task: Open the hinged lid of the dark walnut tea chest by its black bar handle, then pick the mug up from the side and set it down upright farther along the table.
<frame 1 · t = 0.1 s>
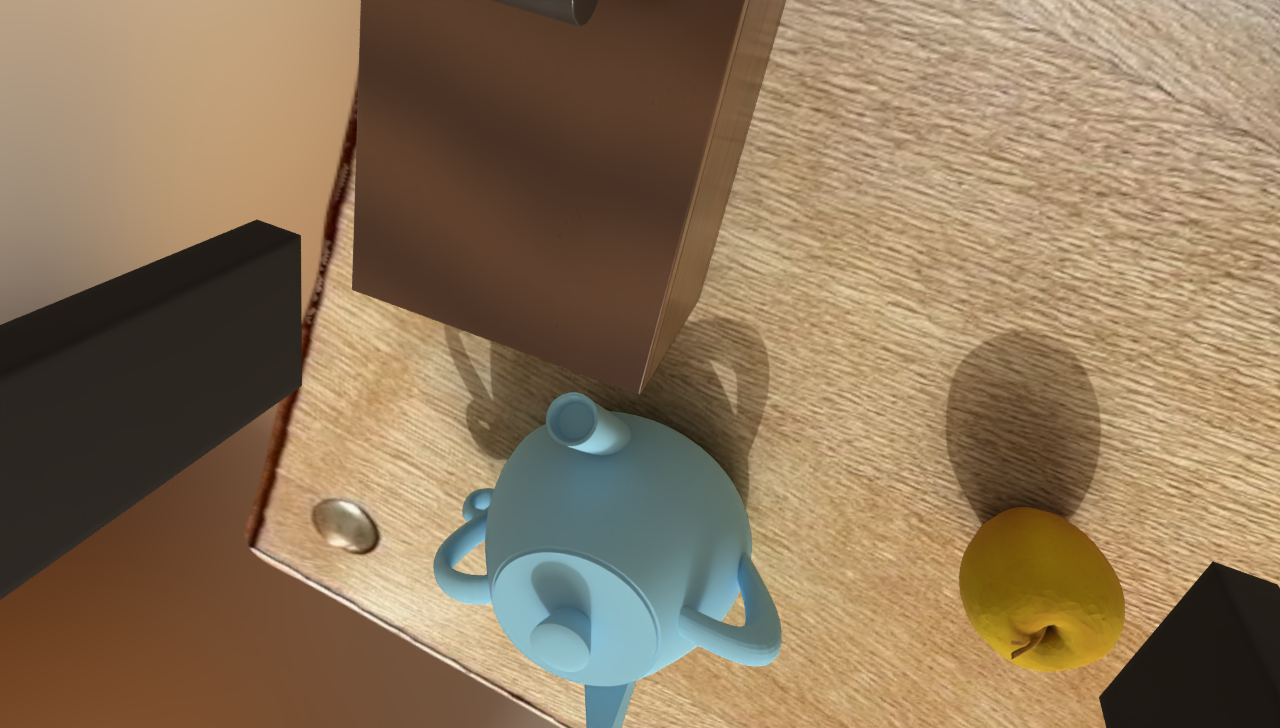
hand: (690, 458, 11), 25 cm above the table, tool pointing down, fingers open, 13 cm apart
teapot: (636, 498, 45), on the table
chest: (610, 102, 35), on the table
apple: (1025, 531, 39), on the table
lid: (491, 151, 25), point 12 cm above the table, hinge at 0.0°
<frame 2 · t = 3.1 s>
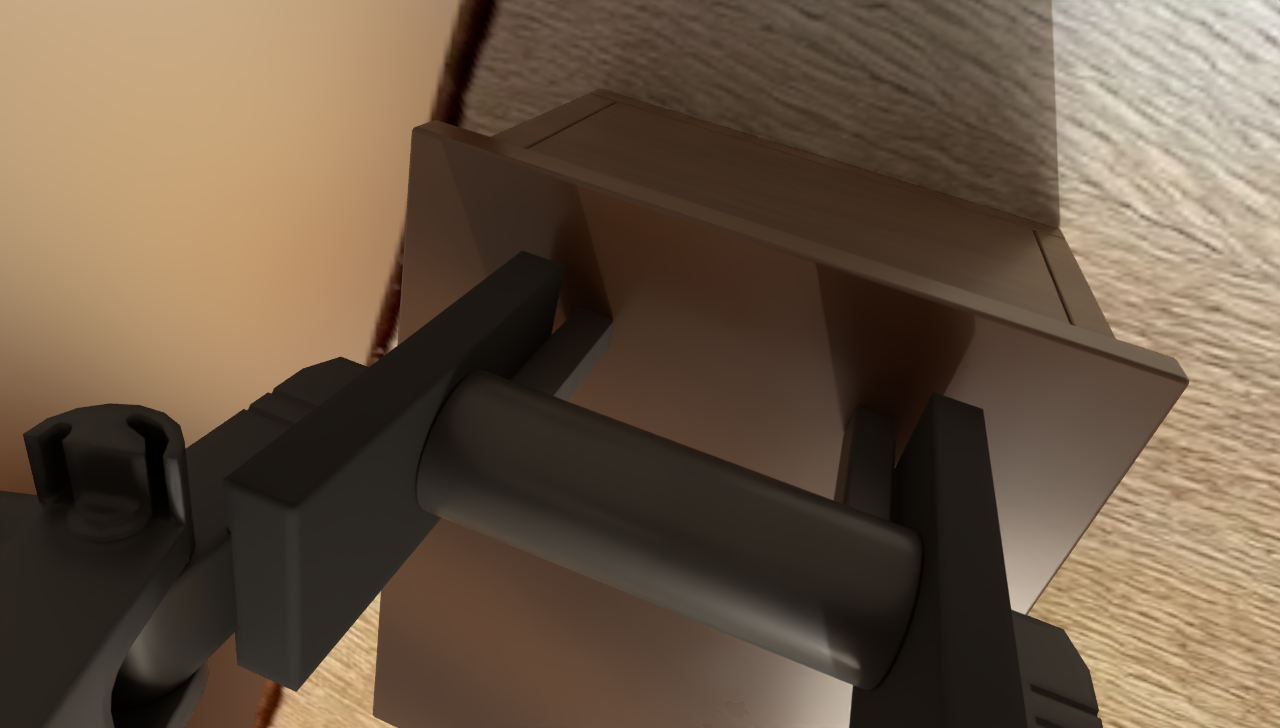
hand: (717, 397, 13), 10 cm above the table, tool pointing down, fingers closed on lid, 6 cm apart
chest: (737, 395, 25), on the table
lid: (620, 681, 15), point 12 cm above the table, hinge at 0.0°, touching gripper
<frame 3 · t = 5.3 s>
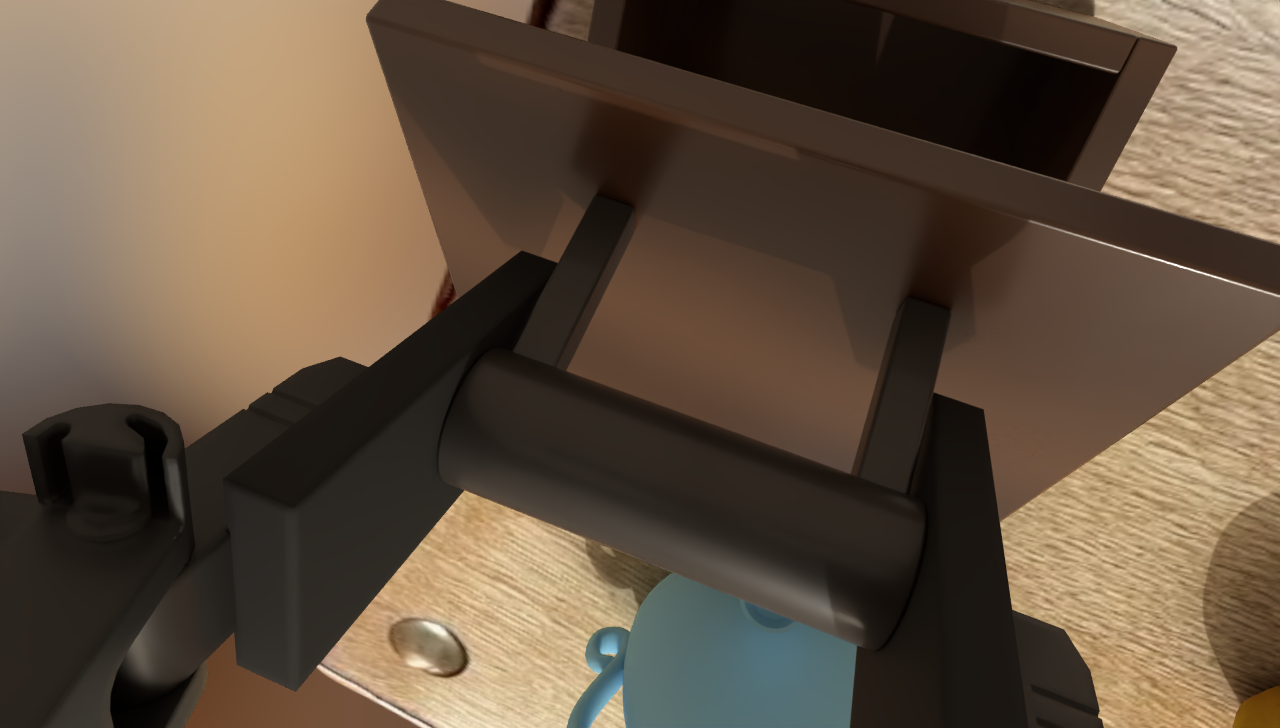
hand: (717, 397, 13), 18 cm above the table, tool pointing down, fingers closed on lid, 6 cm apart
teapot: (789, 638, 38), on the table
chest: (809, 198, 29), on the table
lid: (689, 499, 16), point 16 cm above the table, hinge at 32.3°, touching gripper
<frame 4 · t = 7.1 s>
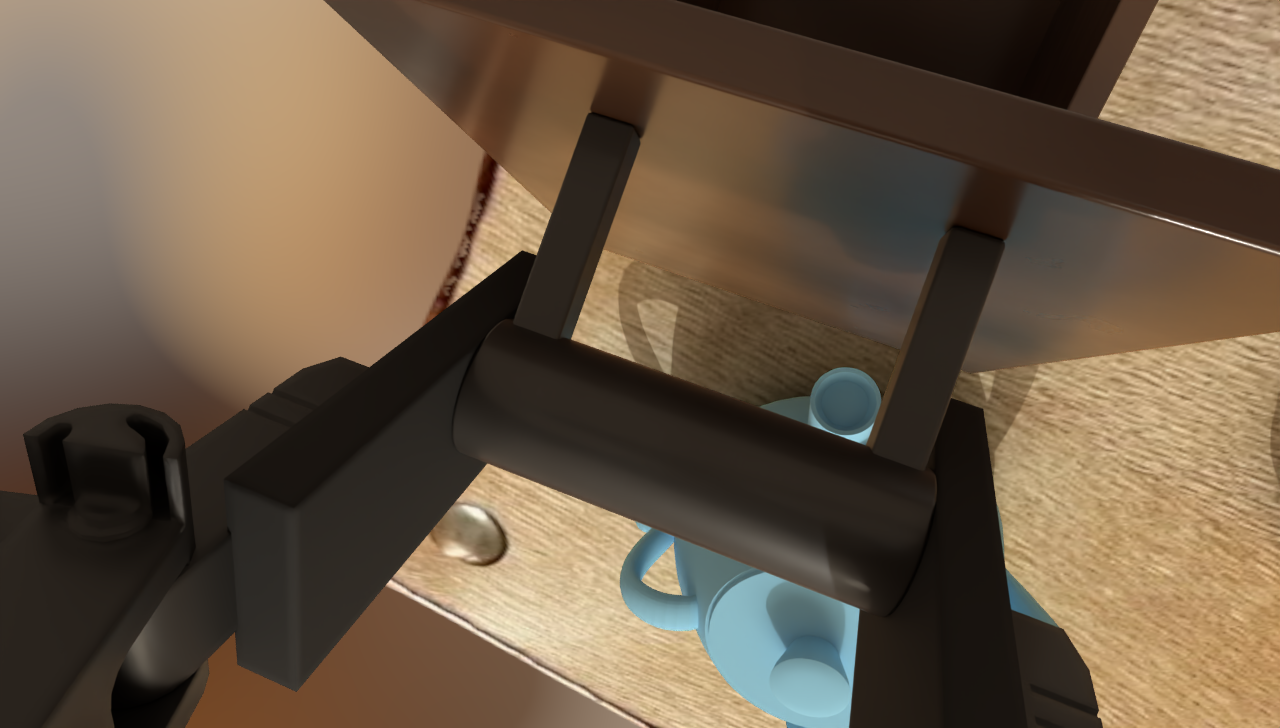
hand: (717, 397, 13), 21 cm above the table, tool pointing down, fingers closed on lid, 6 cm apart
teapot: (839, 501, 38), on the table
chest: (879, 6, 28), on the table
lid: (742, 353, 16), point 18 cm above the table, hinge at 59.0°, touching gripper
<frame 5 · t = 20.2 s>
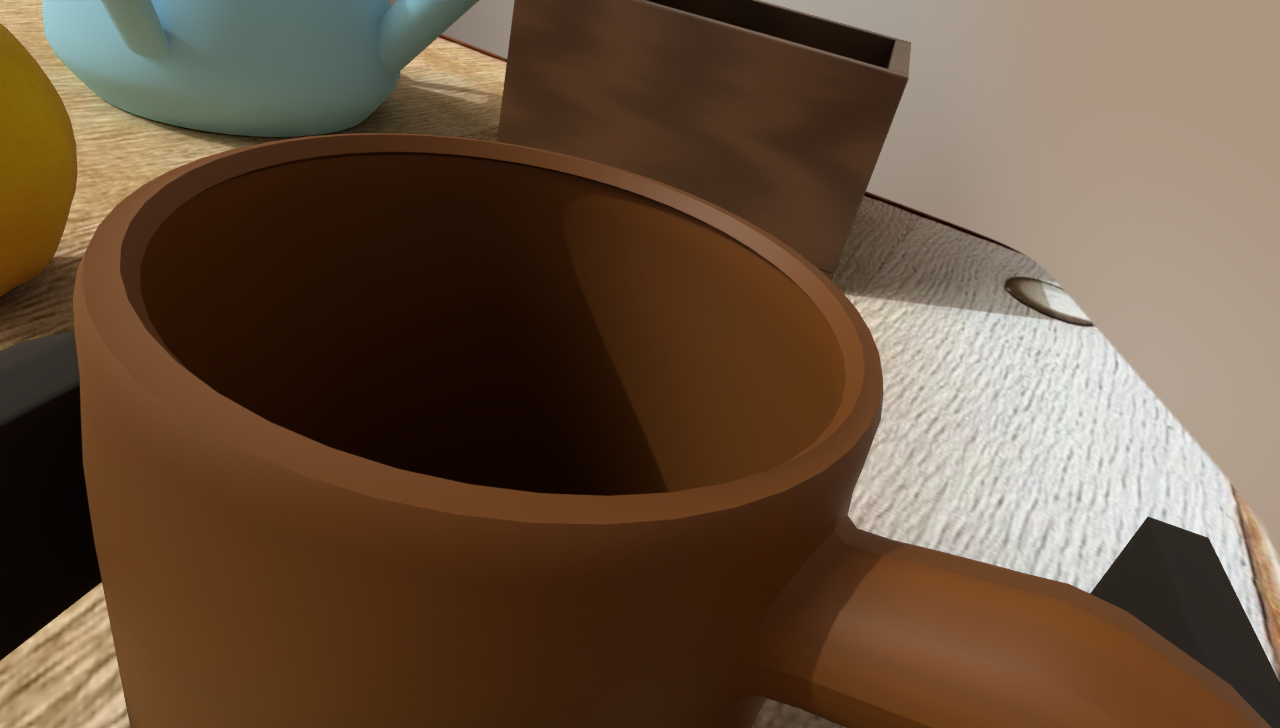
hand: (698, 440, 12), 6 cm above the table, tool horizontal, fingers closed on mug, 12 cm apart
teapot: (245, 99, 38), on the table
chest: (689, 195, 40), on the table
when the fingers open (6 cm above the table, at t = 27.8 s): mug stays where it is, on the table.
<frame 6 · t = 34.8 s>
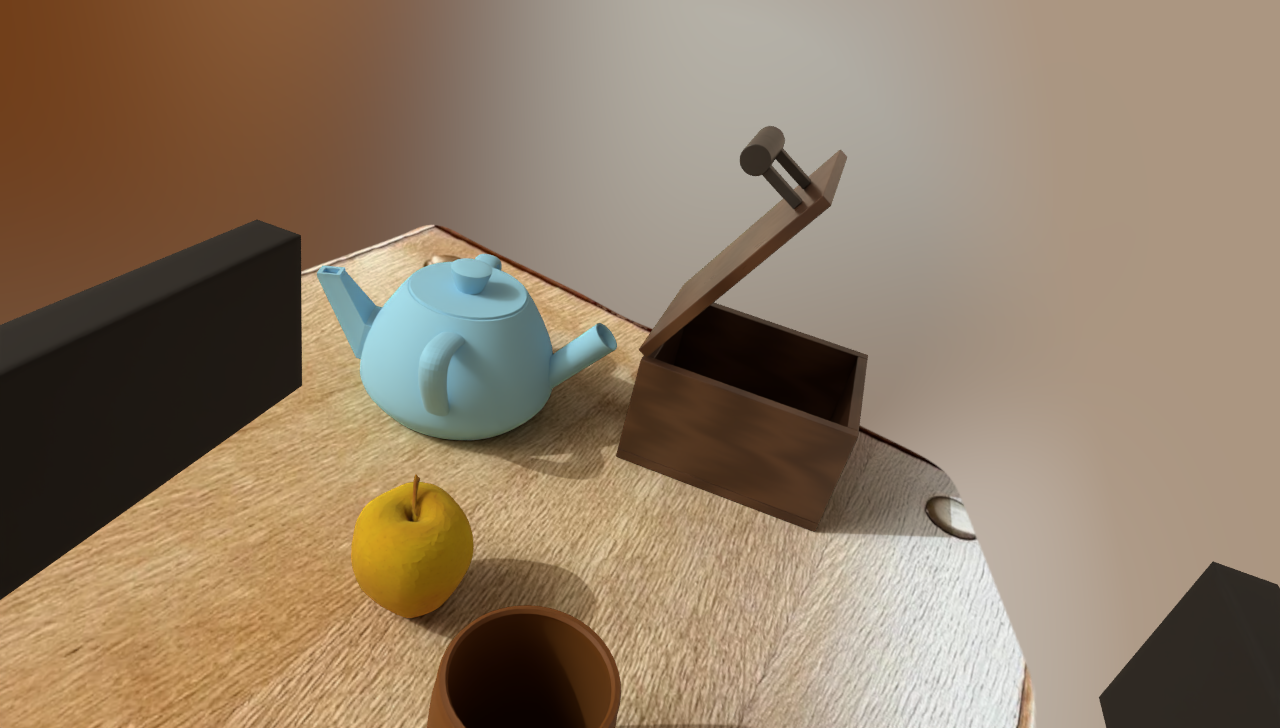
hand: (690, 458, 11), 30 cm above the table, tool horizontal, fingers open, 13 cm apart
teapot: (460, 397, 62), on the table
chest: (730, 448, 64), on the table
apple: (407, 600, 45), on the table
lid: (721, 225, 55), point 18 cm above the table, hinge at 59.2°
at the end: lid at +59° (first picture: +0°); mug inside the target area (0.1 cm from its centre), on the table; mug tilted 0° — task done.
